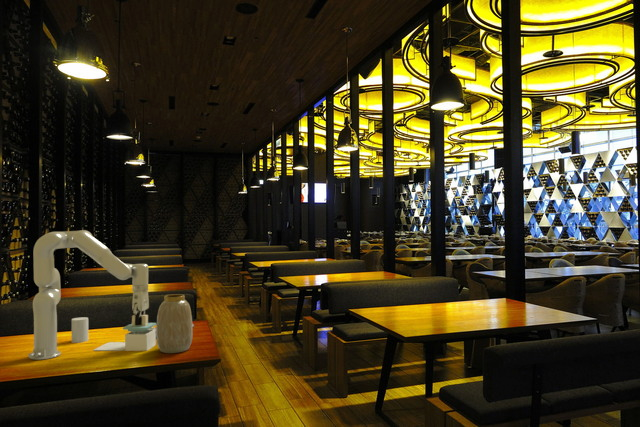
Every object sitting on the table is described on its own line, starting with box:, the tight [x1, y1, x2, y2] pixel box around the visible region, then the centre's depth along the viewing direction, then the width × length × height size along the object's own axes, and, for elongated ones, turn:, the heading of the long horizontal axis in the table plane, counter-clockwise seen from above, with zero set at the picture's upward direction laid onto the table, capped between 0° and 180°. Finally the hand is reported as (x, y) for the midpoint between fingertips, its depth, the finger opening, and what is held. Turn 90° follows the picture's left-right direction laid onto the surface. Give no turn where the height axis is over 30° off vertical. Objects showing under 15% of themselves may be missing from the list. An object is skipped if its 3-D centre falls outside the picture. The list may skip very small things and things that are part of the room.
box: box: [124, 330, 157, 352], centre depth 236 cm, size 11×11×8 cm
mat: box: [93, 341, 125, 352], centre depth 238 cm, size 15×15×1 cm
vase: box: [156, 293, 193, 354], centre depth 231 cm, size 17×17×27 cm
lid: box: [122, 314, 157, 332], centre depth 236 cm, size 12×12×7 cm
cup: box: [71, 316, 89, 344], centre depth 252 cm, size 8×8×12 cm
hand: (139, 323), depth 236 cm, fingers closed on lid, 3 cm apart
